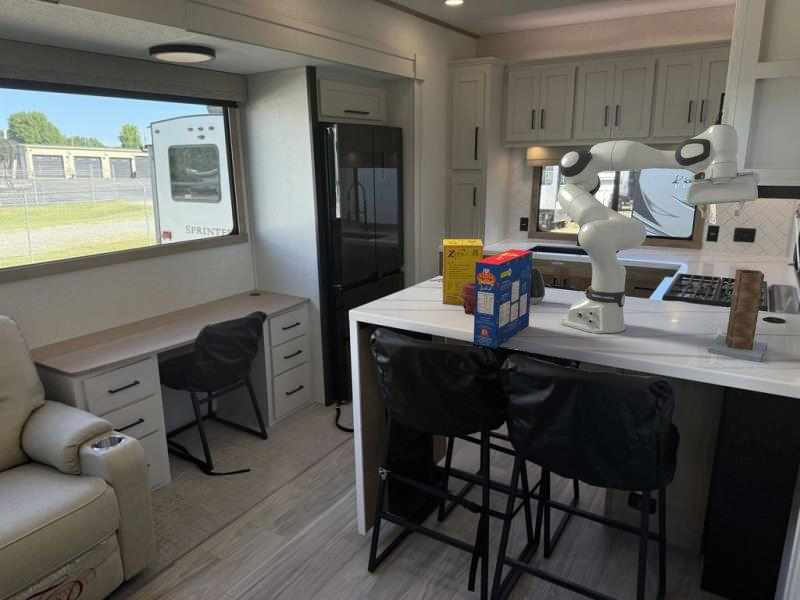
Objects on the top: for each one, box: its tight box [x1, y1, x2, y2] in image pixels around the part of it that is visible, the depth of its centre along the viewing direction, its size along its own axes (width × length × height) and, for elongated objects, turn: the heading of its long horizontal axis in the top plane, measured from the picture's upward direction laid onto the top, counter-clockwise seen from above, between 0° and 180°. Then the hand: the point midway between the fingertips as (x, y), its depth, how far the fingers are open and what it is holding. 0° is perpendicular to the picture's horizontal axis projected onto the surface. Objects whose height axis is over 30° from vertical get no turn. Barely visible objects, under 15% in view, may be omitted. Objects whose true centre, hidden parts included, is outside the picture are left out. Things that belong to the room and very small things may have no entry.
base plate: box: [707, 334, 768, 363], centre depth 176 cm, size 14×16×8 cm
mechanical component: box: [460, 282, 475, 315], centre depth 220 cm, size 12×10×10 cm
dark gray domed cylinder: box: [530, 266, 546, 305], centre depth 233 cm, size 10×10×15 cm
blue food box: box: [473, 248, 534, 349], centre depth 191 cm, size 28×8×28 cm, turn 145°
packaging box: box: [442, 238, 484, 305], centre depth 239 cm, size 16×16×25 cm
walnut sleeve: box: [725, 268, 765, 350], centre depth 174 cm, size 6×6×24 cm
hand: (720, 217), depth 181 cm, fingers open, 8 cm apart
